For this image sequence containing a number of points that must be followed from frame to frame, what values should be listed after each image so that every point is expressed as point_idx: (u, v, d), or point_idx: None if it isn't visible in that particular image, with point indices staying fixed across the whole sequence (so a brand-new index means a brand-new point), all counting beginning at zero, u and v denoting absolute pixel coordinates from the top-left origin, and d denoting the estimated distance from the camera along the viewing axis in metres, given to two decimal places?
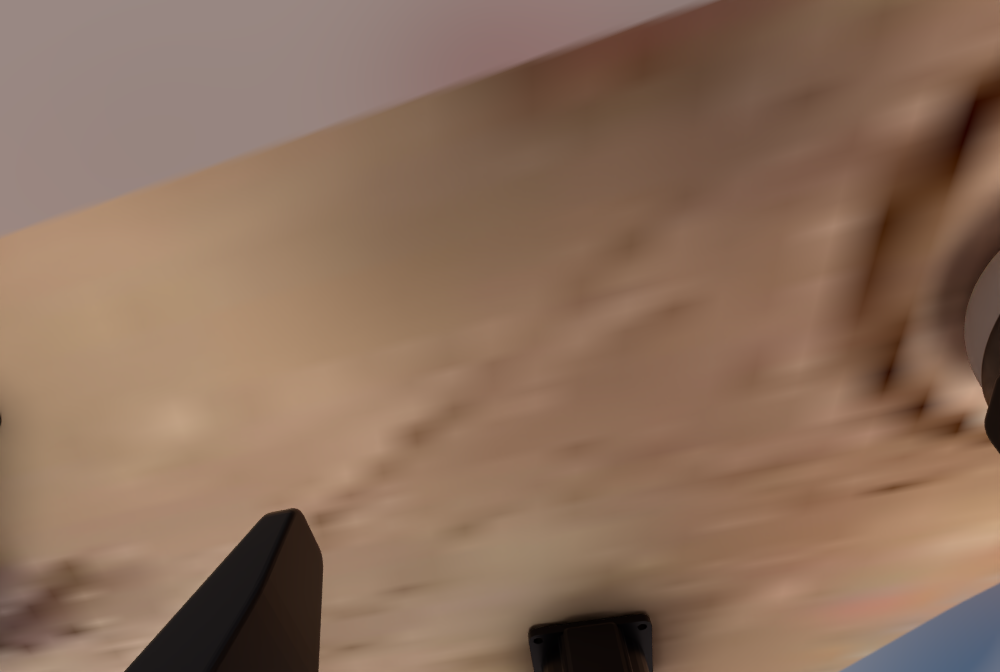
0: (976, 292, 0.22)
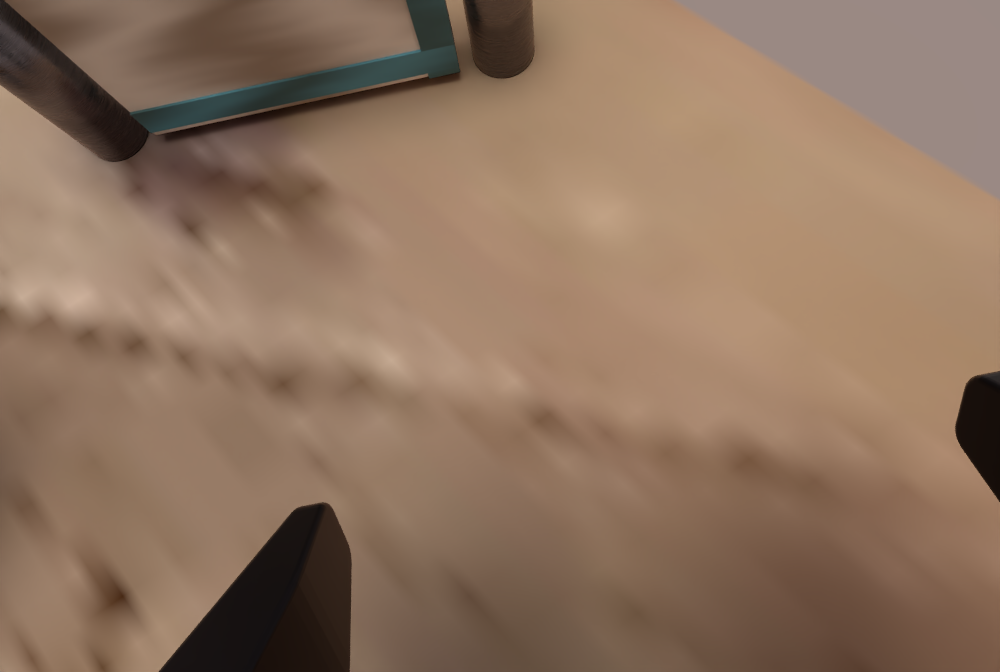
0: None
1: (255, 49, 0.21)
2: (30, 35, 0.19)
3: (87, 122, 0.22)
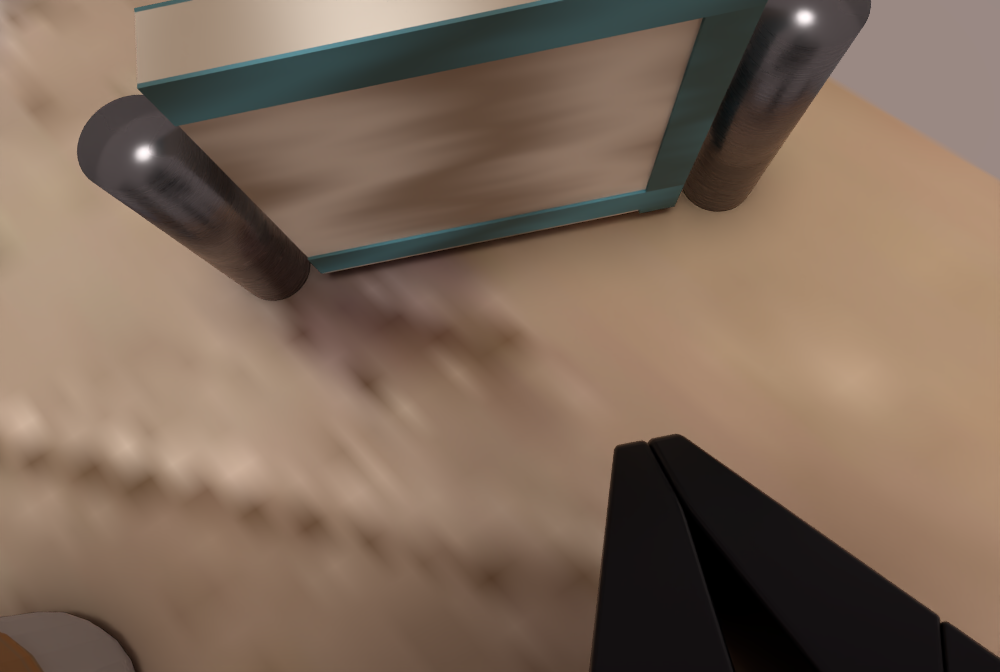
0: None
1: (472, 198, 0.18)
2: (229, 194, 0.16)
3: (261, 271, 0.19)
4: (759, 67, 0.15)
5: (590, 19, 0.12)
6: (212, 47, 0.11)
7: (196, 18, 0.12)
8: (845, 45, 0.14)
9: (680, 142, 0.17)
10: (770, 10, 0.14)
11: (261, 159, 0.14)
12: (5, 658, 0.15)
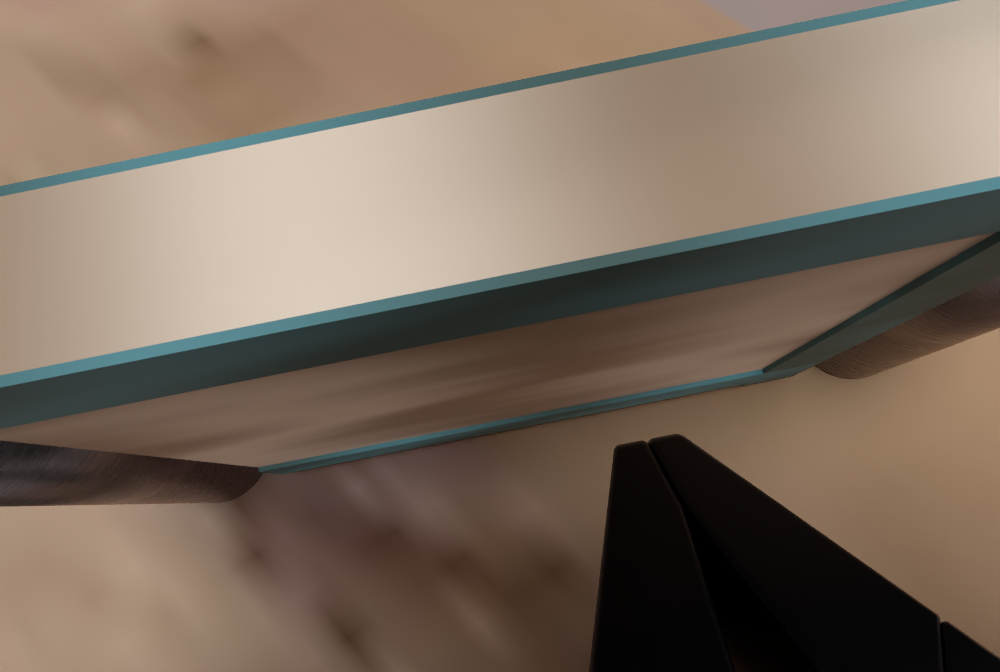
0: None
1: (508, 406, 0.11)
2: None
3: (187, 494, 0.13)
4: None
5: (806, 251, 0.05)
6: None
7: None
8: None
9: (848, 337, 0.10)
10: None
11: (140, 432, 0.08)
12: None
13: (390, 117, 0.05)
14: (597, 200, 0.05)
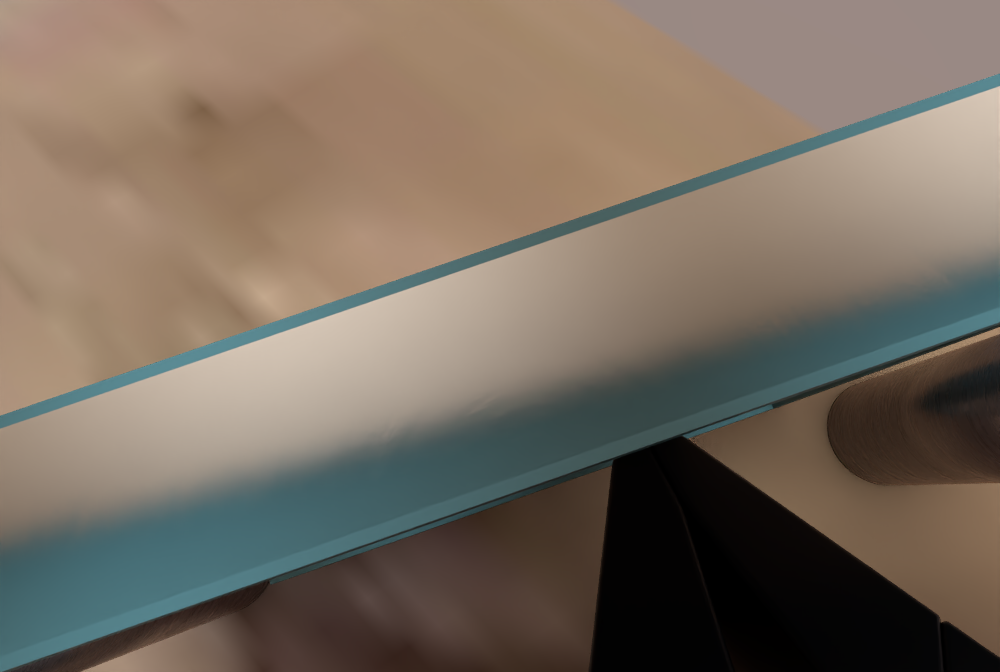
0: None
1: None
2: None
3: (191, 627, 0.12)
4: None
5: (852, 375, 0.05)
6: None
7: None
8: None
9: (861, 376, 0.10)
10: None
11: None
12: None
13: (389, 295, 0.05)
14: (631, 366, 0.05)
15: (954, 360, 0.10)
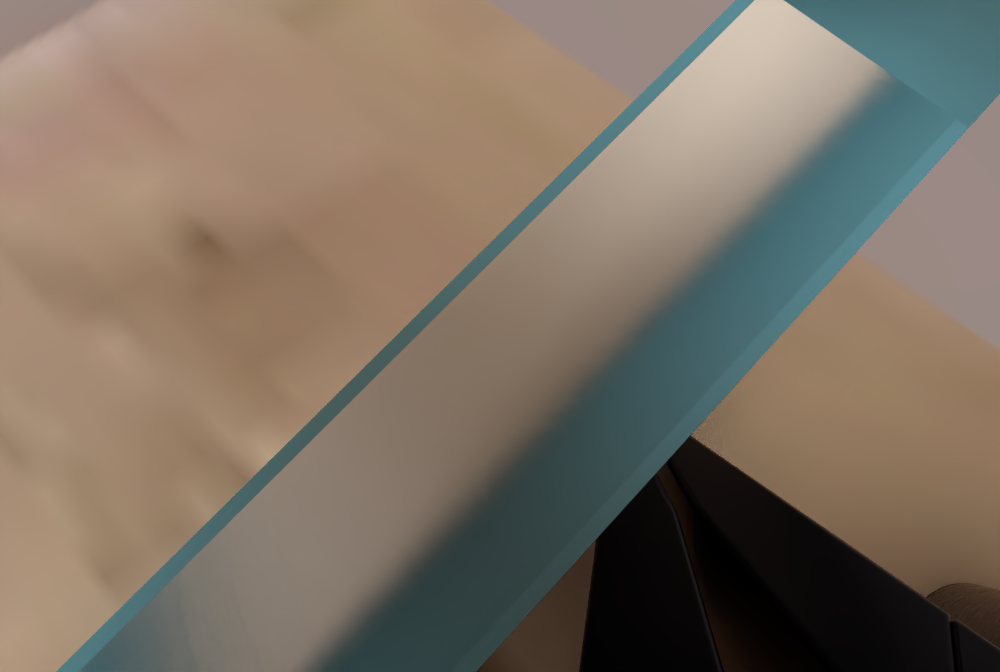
0: None
1: None
2: None
3: None
4: None
5: None
6: None
7: None
8: None
9: None
10: None
11: None
12: None
13: (181, 572, 0.04)
14: (482, 520, 0.04)
15: None
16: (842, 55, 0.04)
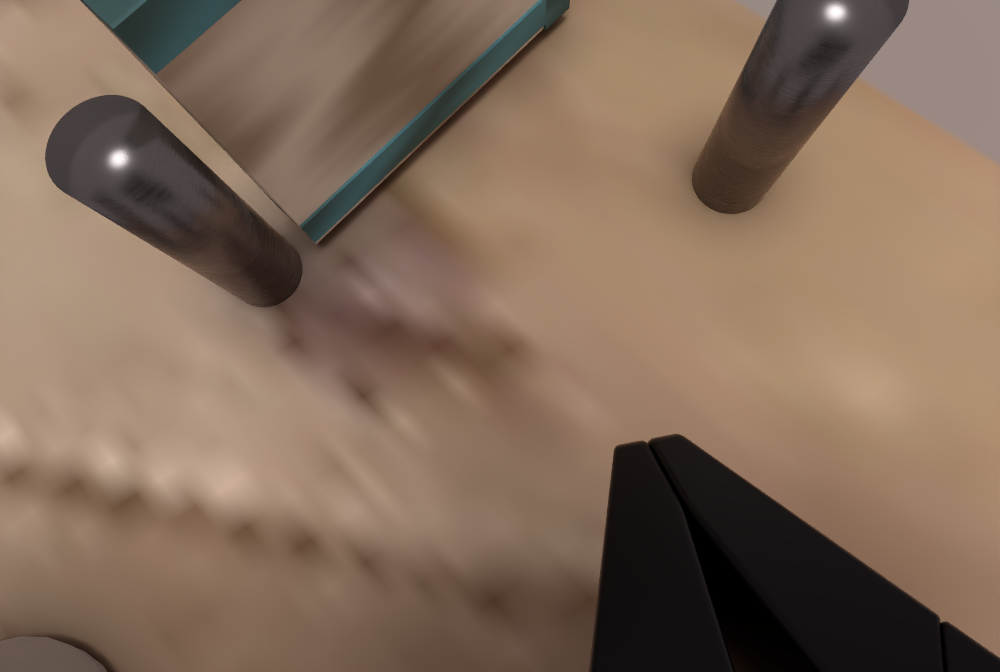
0: None
1: (417, 71, 0.18)
2: (213, 201, 0.15)
3: (250, 278, 0.18)
4: (785, 66, 0.14)
5: None
6: None
7: None
8: (880, 43, 0.13)
9: None
10: (799, 4, 0.13)
11: (236, 95, 0.14)
12: None
13: None
14: None
15: None
16: None
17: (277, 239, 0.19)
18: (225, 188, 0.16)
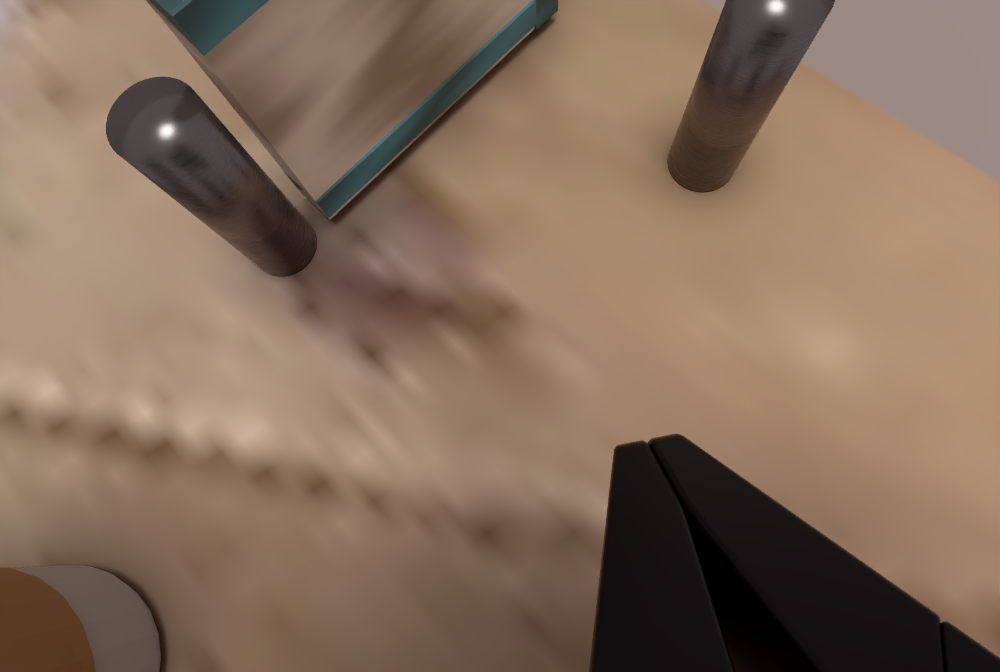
0: None
1: (421, 63, 0.20)
2: (244, 171, 0.17)
3: (272, 246, 0.20)
4: (735, 52, 0.16)
5: None
6: None
7: None
8: (812, 31, 0.15)
9: None
10: None
11: (267, 77, 0.16)
12: (39, 597, 0.16)
13: None
14: None
15: None
16: None
17: (296, 213, 0.21)
18: (253, 162, 0.18)
